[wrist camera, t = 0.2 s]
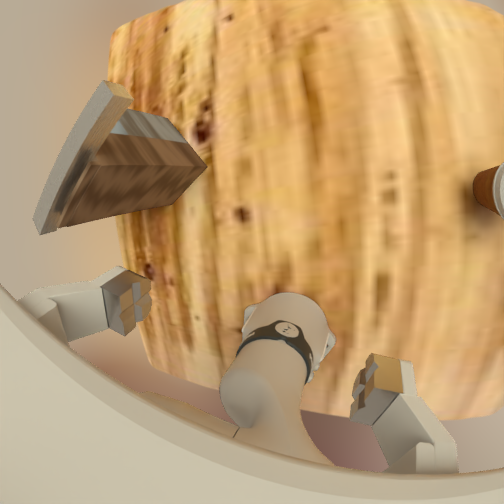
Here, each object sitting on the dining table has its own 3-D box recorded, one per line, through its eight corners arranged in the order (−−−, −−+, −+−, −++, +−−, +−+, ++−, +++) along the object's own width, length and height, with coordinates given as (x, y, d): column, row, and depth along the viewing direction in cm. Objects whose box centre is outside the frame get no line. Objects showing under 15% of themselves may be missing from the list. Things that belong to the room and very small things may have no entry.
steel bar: (122, 85, 23) (102, 79, 21) (133, 99, 23) (113, 94, 21) (48, 215, 32) (32, 218, 30) (56, 230, 32) (39, 235, 30)
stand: (167, 118, 51) (55, 96, 25) (207, 166, 50) (91, 165, 25) (137, 155, 55) (27, 157, 30) (172, 204, 55) (58, 229, 30)
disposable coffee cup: (480, 150, 33) (513, 145, 22) (511, 186, 32) (547, 190, 21) (456, 191, 37) (487, 196, 26) (489, 226, 36) (522, 240, 25)
